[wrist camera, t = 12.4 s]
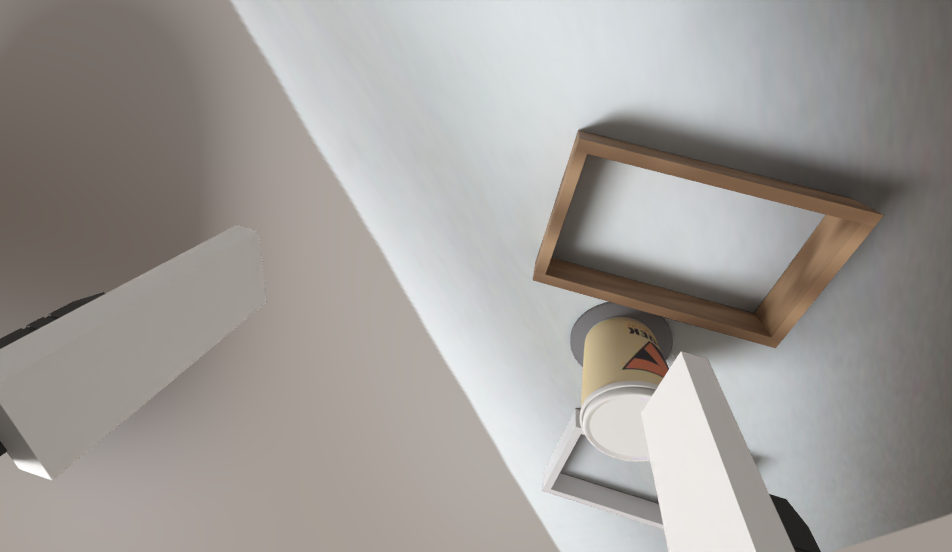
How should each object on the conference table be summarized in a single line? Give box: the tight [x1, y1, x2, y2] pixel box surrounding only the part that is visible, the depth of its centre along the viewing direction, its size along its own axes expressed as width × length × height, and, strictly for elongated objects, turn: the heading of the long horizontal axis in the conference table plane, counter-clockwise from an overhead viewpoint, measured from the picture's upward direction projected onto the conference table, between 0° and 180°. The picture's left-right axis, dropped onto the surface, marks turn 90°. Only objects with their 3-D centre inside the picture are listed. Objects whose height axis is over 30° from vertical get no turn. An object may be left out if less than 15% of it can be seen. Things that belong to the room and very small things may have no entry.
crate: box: [533, 130, 884, 348], centre depth 36 cm, size 14×24×4 cm, turn 78°
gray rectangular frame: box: [542, 408, 664, 529], centre depth 54 cm, size 15×22×3 cm
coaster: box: [571, 302, 672, 367], centre depth 45 cm, size 11×11×1 cm
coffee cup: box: [580, 317, 669, 461], centre depth 40 cm, size 9×9×12 cm
